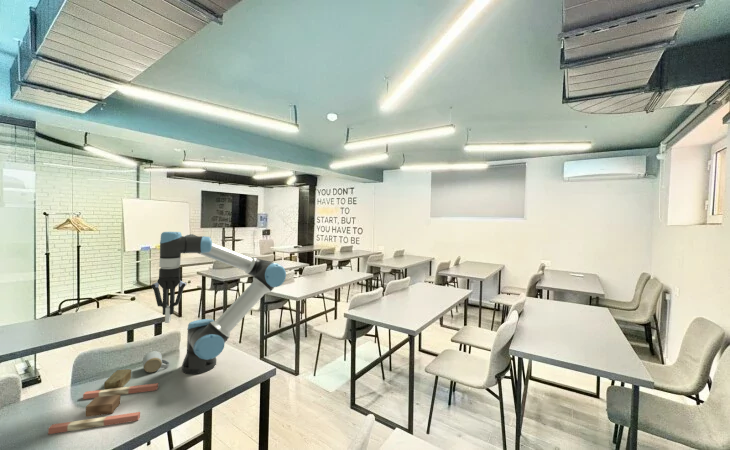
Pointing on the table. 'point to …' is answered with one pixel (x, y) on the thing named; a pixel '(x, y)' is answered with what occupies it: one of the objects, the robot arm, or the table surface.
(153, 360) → the ceramic mug
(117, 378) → the stone block
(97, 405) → the walnut block
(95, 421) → the rails
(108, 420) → the rails
